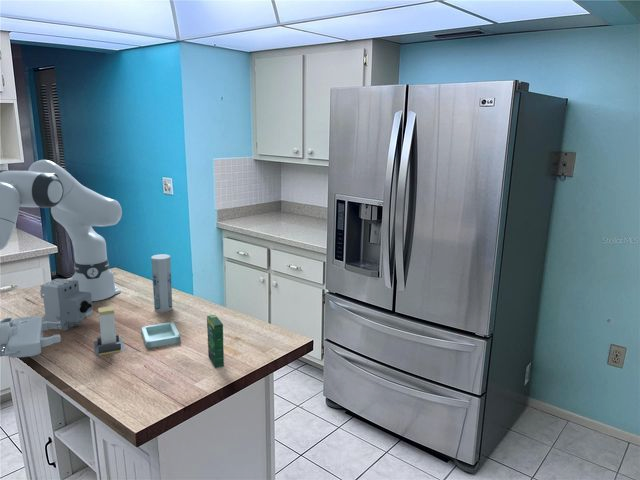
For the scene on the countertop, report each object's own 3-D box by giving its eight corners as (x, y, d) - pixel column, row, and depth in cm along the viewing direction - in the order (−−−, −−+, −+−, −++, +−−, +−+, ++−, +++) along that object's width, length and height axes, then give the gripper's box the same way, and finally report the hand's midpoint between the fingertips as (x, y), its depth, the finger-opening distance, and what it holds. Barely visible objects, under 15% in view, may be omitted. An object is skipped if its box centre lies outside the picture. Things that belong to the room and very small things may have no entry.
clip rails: (93, 343, 145) (93, 335, 144) (121, 338, 149) (121, 331, 148) (95, 357, 137) (94, 349, 136) (125, 352, 140) (124, 344, 140)
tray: (141, 334, 152) (141, 326, 152) (173, 328, 157) (173, 321, 156) (146, 350, 142) (146, 342, 141) (180, 344, 146) (180, 336, 146)
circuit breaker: (83, 333, 151) (78, 289, 148) (44, 328, 154) (39, 285, 150) (98, 324, 158) (94, 282, 155) (61, 319, 161) (56, 278, 157)
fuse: (101, 344, 143) (98, 308, 140) (116, 342, 145) (113, 306, 142) (102, 349, 140) (98, 312, 137) (116, 347, 142) (114, 310, 139)
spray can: (153, 306, 174) (149, 255, 170) (171, 304, 177) (168, 253, 173) (155, 313, 169) (152, 259, 164) (174, 310, 172) (171, 258, 167)
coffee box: (207, 356, 140) (206, 315, 136) (216, 354, 141) (216, 313, 138) (214, 368, 133) (213, 325, 130) (224, 366, 134) (223, 324, 131)
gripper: (-4, 344, 119) (59, 335, 125) (6, 315, 137) (60, 308, 143) (0, 367, 121) (61, 357, 127) (8, 335, 138) (62, 328, 144)
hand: (60, 331), depth 135 cm, fingers open, 8 cm apart
